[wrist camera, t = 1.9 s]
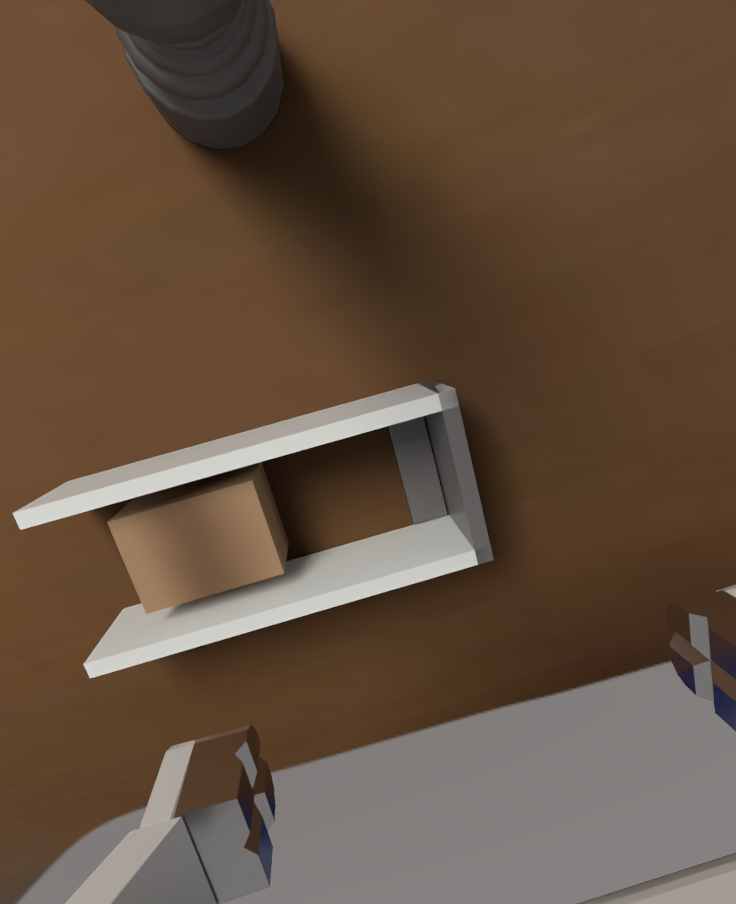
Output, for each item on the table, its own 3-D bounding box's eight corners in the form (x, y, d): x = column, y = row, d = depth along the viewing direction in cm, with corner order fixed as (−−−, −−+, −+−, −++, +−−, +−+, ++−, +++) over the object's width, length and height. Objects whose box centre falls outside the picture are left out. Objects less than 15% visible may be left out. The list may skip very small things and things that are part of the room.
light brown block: (261, 460, 28) (252, 480, 24) (289, 541, 29) (284, 573, 25) (136, 495, 28) (106, 522, 24) (169, 576, 29) (146, 614, 25)
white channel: (431, 379, 27) (455, 388, 23) (465, 523, 29) (493, 560, 25) (68, 481, 27) (12, 513, 22) (128, 620, 29) (90, 678, 24)
